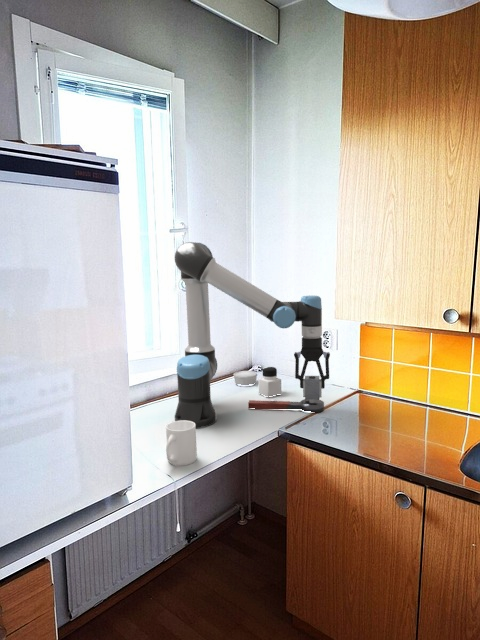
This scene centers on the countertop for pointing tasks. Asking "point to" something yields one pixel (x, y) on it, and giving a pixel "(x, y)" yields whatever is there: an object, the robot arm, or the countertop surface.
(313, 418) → the countertop surface
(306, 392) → the socket
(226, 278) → the robot arm
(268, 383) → the medicine bottle
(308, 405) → the ratchet
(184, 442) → the mug
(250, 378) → the ramekin
